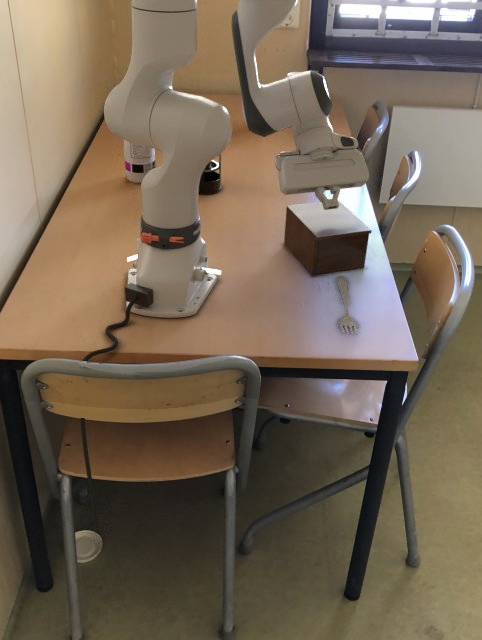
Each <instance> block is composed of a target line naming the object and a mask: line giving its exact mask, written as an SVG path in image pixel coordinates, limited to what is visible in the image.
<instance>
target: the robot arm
mask: <svg viewBox="0 0 482 640" xmlns="http://www.w3.org/2000/svg"><path fill="white" fill-rule="evenodd" d="M298 1H299V0H238V6H237V8H236V10H235V11H234V13H232V15H231V35H232V41H233V42H232V43H233V49H234V50H233V51H234V55H235V62H236V67H237V74H238V80H239V86H240V93H241V114H242V118H243V119H242V120H243V122H244V124H245V126H246V128H247V129H248V131H249V132H251V133H252V134H254V135H257V136H260V137H261V138H266V137H268V136H271V135H273V134H275V133H278V132H279V131H282V130H285V129H288V128H292V131H293V142H294V147H295V150H290V151H289V150H288V151H280V152H279V153H277V155H276V156H275V157H274V165H275V168H276V170H277V173H278V184H279V189H280V192H281V193H282V194H283V195H284V196H289V195H298V194H307V193H314V195H315V198H316V199H317V200H319V202H321V203H322V204H323V208H324V210H328V209H336V208H338V207H339V203H338V200H339V199H338V198H339V196H340V192H341V190H343V189H352V188H362V187H363V186H364V185H366V184H367V182H368V181H369V178H370V173H369V168H368V165H367V161H366V160H365V157H364V155H363V153H362V152H361V150H359V149H357V148H358V147H359V141H358V139H357V138H355V137H351V136H347V135H344V134H343V135H342V134H339V133H337V132H334V129H333V126H332V125H331V122H330V113H331V112H332V110H333V106H334V104H333V101H332V100H331V95H330V90H329V84H328V81H327V79H326V77H325V76H323V75H322V74H320V73H318V72H317V71H314V70H313V69H311V70H305V71H300V72H301V73H298V74H295V75H292V76H289V77H287V76H286V77H287V78H286V77H284V78H281V79H278V80H276V81H272V82H269V83H265V84H263V83H260V81H259V80H260V79H259V74H258V73H259V71H258V67H257V65H258V64H257V59H256V51H257V49H258V46H259V45H260V43H261V42H262V41H263V40H264V39H265V38H266V37H267V36H269V34H271V33H272V32H273V31H274V30H276V29H277V28H278V27H280V25H282V24H283V23H285V21H286V20H287V19H288V18H289V17H290V16H291V14H292V13H293V11H294V10H295V8H296V6H297V4H298ZM130 3H131V5H130V6H131V28H132V29H131V30H132V31H131V32H132V36H131V37H132V40H131V41H132V42H131V43H132V45H131V57H130V61H129V65H128V69H127V71H126V73H125V75H124V77H123V78H122V80H121V81H120V82H119V83H118V84H117V85H115V86H114V87H113V88H112V89H111V91H110V92H109V93H108V95H107V97H106V99H105V102H104V107H103V115H104V116H103V117H104V121H105V124H106V126H107V129H108V131H109V132H110V133H112V134H113V135H115V136H116V137H118V138H120V139H122V140H123V139H124V140H126V141H128V142H130V143H133V144H137V145H141V146H145V147H149V148H153V149H155V150H157V151H160V152H161V157H162V158H161V165H158V166H156V168H154V169H152V170H150V171H149V172H148V173H147V174H146V175H145V177H144V178H143V180H142V183H140V195H141V208H142V209H141V211H142V213H141V216H140V223H139V230H140V233H139V235H140V236H139V237H138V238H136V253H137V254H134V255H131V256H128V257H127V258H126V261H127V262H128V263H129V262H131V261H135V260H136V262H133V264H132V267H133V268H130V269H129V270H128V271H127V272H128V273H127V285H125V286H124V298H125V299H124V300H125V302H126V304H125V312H124V313H125V317H124V319H123V320H122V321H121V322H117V323H113V324H109V325H107V326H106V328H105V329H104V333H105V335H106V336H107V337H108V339H110V340H111V341H112V342H113V344H112V345H110V346H107V347H104V348H99V349H96V350H94V351H91V352H89V353H88V354H87V355H85V356H84V358H83V359H82V360H81V362H82V361H87V362H88V361H89V360H90V359H92V358H93V357H95V356H98V355H102V354H106V353H109V352H112V351H114V350H116V349H117V347H118V346H119V341H118V338H117V337H116V336H115V335H114V334H112V332H111V330H113V329H117V328H121V327H124V326H126V325H127V324H128V323H129V322H130V318H131V313H133V314H136V315H140V316H145V317H152V318H167V319H169V318H170V319H173V318H174V319H175V318H186V317H190V316H194V315H196V314H197V313H198V311H199V309H201V306H202V305H203V303H204V302H205V300H206V299H207V297H208V296H209V294H210V293H211V291H212V289H213V288H214V286H215V285H216V283H217V282H218V277H217V275H222V269H221V270H219V269H215V268H209V267H210V266H209V264H210V263H209V246H208V243H207V242H206V241H205V240H204V239H203V238H202V236H201V228H202V223H201V216H200V214H199V194H198V191H199V182H200V178H201V175H202V173H203V171H204V169H205V167H206V166H207V165H208V163H209V162H210V161H212V160H213V161H214V160H215V159H217V158H219V155H221V156H222V154H223V153H224V152H225V150H226V149H227V148H228V146H229V144H230V142H231V140H232V136H233V122H232V118H231V115H230V113H229V111H228V109H227V107H225V106H224V105H222V104H220V103H219V102H216V101H215V100H212V99H210V98H208V97H206V96H203V95H198V94H193V93H187V92H183V91H177V90H174V89H173V82H174V81H173V79H174V76H175V74H176V72H177V71H179V70H182V69H183V68H185V67H187V66H189V64H191V62H192V61H193V60H194V59H195V57H196V54H197V51H198V0H131V1H130ZM327 191H329V192H330V195H332V198H328V197H327V196H326V195H325V192H327ZM79 420H80V433H81V442H82V450H83V451H82V452H83V457H84V464H85V471H86V477H87V484H88V489H89V496H90V501H91V502H90V503H91V509H92V516H93V524H94V525H93V526H94V532H95V534H99V533H100V525H99V517H98V510H97V509H98V508H97V503H96V496H95V490H94V483H93V477H92V476H93V475H92V470H91V469H92V468H91V464H90V457H89V456H90V455H89V449H88V441H87V440H88V439H87V429H86V417H85V418H80V417H79Z"/></svg>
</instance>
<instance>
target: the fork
mask: <svg viewBox="0 0 482 640" xmlns="http://www.w3.org/2000/svg"><path fill="white" fill-rule="evenodd" d="M336 282H337V285H338V289H339V292H340V296H341V298H342V301H343V306H344V314H343V316H342V318H341V319H340V320H339V322H338V323H339V326H340V329H341V331H342V332H343V334H344V335H346V333H347V335H350V333H351V335H354V333H355V335H356V336H357V335H358V329H357V324H356V322H355V320H354V319H353V318H352V316H351V315H350V311H349V304H348V283H347V279H346V278H345V277H344V276H339V277H338V278H337V279H336ZM348 327H349V328H348ZM344 328H345V329H344ZM349 330H350V331H349ZM353 330H354V331H353Z"/></svg>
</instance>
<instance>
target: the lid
mask: <svg viewBox="0 0 482 640" xmlns="http://www.w3.org/2000/svg"><path fill="white" fill-rule="evenodd" d="M338 203H339V207H338V208H336V209H328V210H324V208H323V204H322V203H321V202H320V201H313V202H305V203H297V204H288V205H286V209H287V210H288V211H289V212H290V213H291V214H292V215H293V216H294V217H295V218H296V219H297V220H298V221H299V222H300V224H301V225H302V226H303V227H304V228H305V229H306V230H307V231H308V232H309V233H310V234H311V235H312V236H313V237H314V238H315V239H316V240H317V241H320V240H328V239H335V238H342V237H349V236H356V235H363V234H369V235H370V234H372V229H371V228H370V227H369V226H368V225H367V224H366V223H365V222H364V221H362V220H361V219H360V218H359V217H358V216H357V215H356V214H354V213H353V211H351V210H350V209H349V208H348V207H346V206H345V204H343V203H342V201H340V200H339V199H338Z"/></svg>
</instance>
